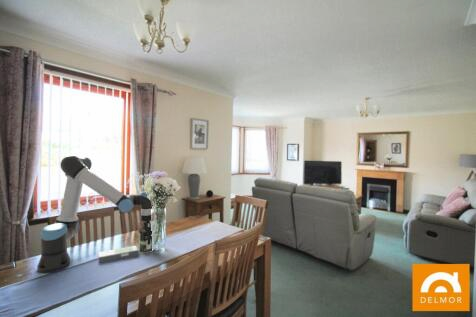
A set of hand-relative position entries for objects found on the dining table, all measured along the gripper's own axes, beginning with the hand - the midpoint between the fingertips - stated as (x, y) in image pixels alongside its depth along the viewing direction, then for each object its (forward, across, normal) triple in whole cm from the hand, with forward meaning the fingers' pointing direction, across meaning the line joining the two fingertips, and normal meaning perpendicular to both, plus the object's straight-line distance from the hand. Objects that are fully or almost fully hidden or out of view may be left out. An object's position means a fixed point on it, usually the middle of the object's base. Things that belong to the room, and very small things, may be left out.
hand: (146, 245), depth 161 cm
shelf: (+3, 0, +17) cm, 17 cm away
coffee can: (+4, 0, 0) cm, 4 cm away
